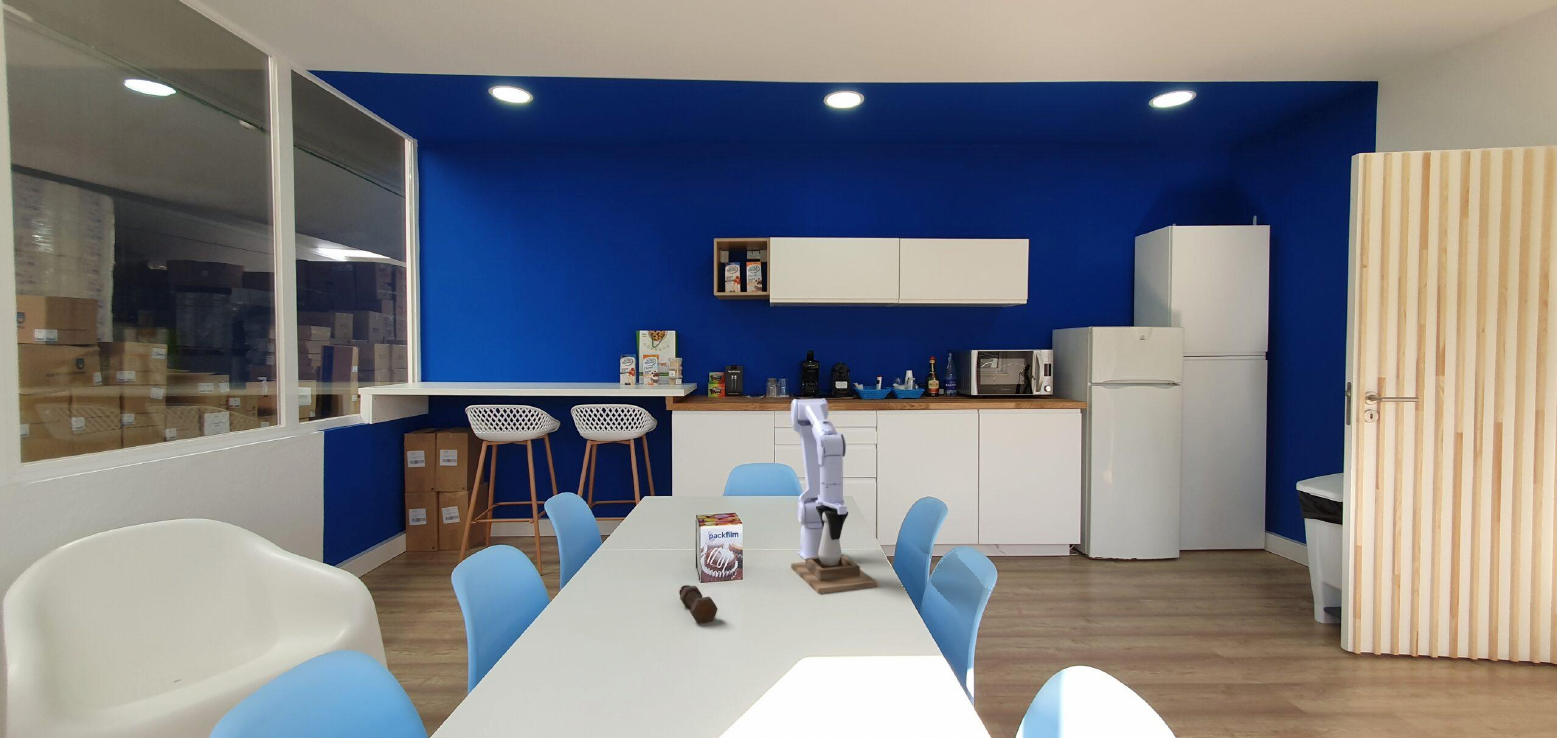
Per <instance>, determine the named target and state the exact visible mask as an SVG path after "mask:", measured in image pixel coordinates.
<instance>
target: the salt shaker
mask: <svg viewBox="0 0 1557 738" xmlns="http://www.w3.org/2000/svg"><path fill="white" fill-rule="evenodd" d="M822 519H823V521H825V523H824V527H823V532H822V537H821V542H820V547H819V552H818V556H819V558H820V561H821V563H822V564H824V565H828V566H834V565H838V563H839V560H840V558H841V555H842V549H841V542H840V539H836V540H832V539H831V537H830V530H829V524H828V520H827V517H826V515H825V513H823V515H822Z"/></svg>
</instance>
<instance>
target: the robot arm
mask: <svg viewBox="0 0 1557 738" xmlns="http://www.w3.org/2000/svg"><path fill="white" fill-rule="evenodd" d="M790 415H791V425H792V430H793V431H794V432H796V433H798V435H799V438H800V443H801V444H800V445H801V452H802V462H803V463H802V464H803V469H804V470H803V471H804V479H805V488H806V489H805V491H803V492H802V493H801V494H800V495H799V496H798V499H797V518H798V522H799V523H800V525H802V526H801V528H800V534H799V535H800V550H798V551H796V552H797V554H798V555H799V556H800V557H801V558H803V560H805V561H806V558H813V557H819V556H818V552H819V547H820V542H821V537H822V532H823V527H824V523H825V521H823V519H822V515H823V513H825V515H826V517H827V520H828V524H829V530H830V537H831V539H832V540H836V539H839V540H840V538H841V535H842V530H843V526H844V523H845V521H846V520H847V517H848V516H849V511H847V505H846V504H845V500H844V478H843V477H844V463H843V462H844V459H843V458H844V457H845V456H846V453H847V452H846V451H847V444H846V443H847V441H846V437H845V435H844V433H838V431H837V430H836V428H835V426H834V424H833V423H832V422H831V420H829V419H828V417H829V404H828V401H827V400H826V399H825V398H824V397H823V398H815V399H814V398H813V399H811V398H810V399H806V398H805V399H804V398H803V399H797V398H793V400H792V401H791V405H790Z"/></svg>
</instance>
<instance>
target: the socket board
mask: <svg viewBox="0 0 1557 738" xmlns="http://www.w3.org/2000/svg"><path fill="white" fill-rule="evenodd" d="M790 568H791V569H792V570H793V571H794V572H795V573H796V574H797V575H798V576H799V577H800V578H801V579H802V580H803V581H805V583H806V584H807V585H808V586H810V588H812V590H814V591H815V592H816V594H818V595H819V594H827V593H836V592H844V591H851V590H860V589H868V588H875V587H877V588H878V584H877V583H878V582H877V580H876V579H874V578H873V577H871V576H870V575H869V574H867V573H866V572H865V571H864V570H861V567H860V565H859V564H857V563H856V562H854V561H853V560H852V559H851V558H849V557H848V556H847V555H845V554H842V555H841V558H840V560H839V563H838V565H834V566H828V565H824V564H822V563H821V561H820V558H819V557H813V558H806V560H805V561H801V562H793V563H791V564H790Z"/></svg>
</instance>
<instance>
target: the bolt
mask: <svg viewBox="0 0 1557 738" xmlns="http://www.w3.org/2000/svg"><path fill="white" fill-rule="evenodd" d="M678 592H679V593H678V594H679V599H680V601H681V603H682V604H683V605H684V607H685V608H687V609H690V610H689V613H690V614H691V616H692V618H693V619H694V620H695V622H696V624H699V625H700V624H708V623H710V622H713V620H714V619H715V617H716V615H717V613H718V606H717V605H716V603H715V602H714V600H713V598H712V597H710V596H703V594H702V593H701V591H700V589H699V588H698V586H696V585H689V584H686V585H684V584H683V585H682V586H681V587H680V589H679V591H678Z"/></svg>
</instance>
